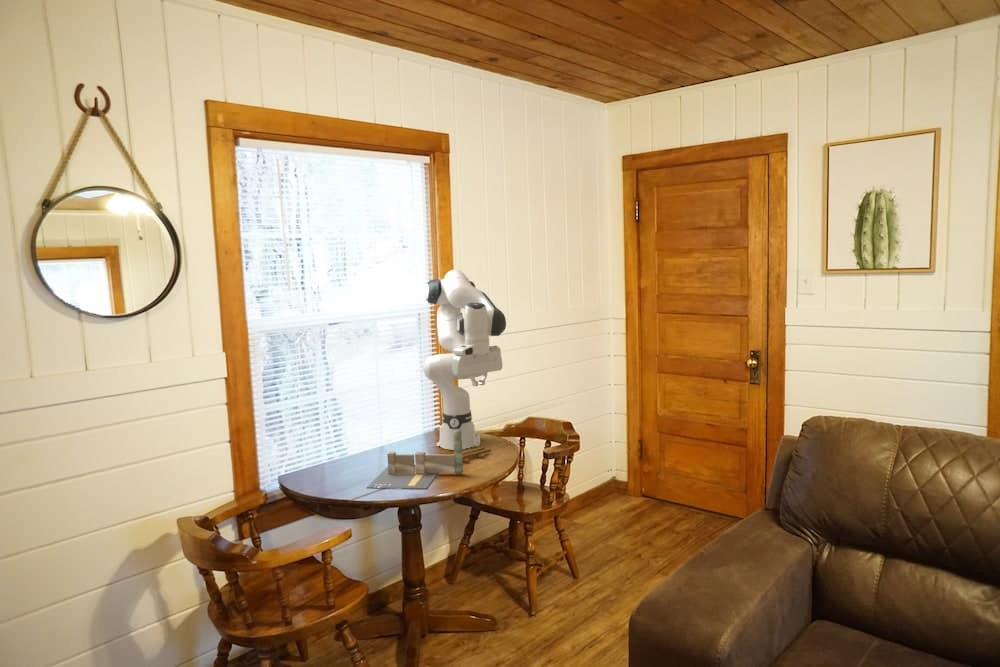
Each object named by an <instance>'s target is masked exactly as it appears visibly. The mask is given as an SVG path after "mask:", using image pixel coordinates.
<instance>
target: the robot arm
mask: <svg viewBox="0 0 1000 667" xmlns="http://www.w3.org/2000/svg"><path fill="white" fill-rule="evenodd" d="M424 287H425V288H424V296H425V300H426V301H427V303H428V304H432V305H440V306H439V307H438V309H437V312H436V330H437V338H438V339H437V340H438V344H439V346H441V347H442V349H444V350H446V351H449V352H450V353H437V354H433V355H430V356H428V357H426V358H425V360H424V362H423V373H424V375H425V376H426V378H427V380H428V379H429V380H430V381H431V382H433V384H434V385H436V387H437V388H438V390H439V391H440V394H441V397H442V408H443V413H442V424H441V425H440V426H439V440H438V441H437V442H436V443H435V444H436V445H435V446H436V447H439V446H440V448H442V449H444V450H452V451H454V442H453V431H454V430H461V433H462V450H466V448H468V449H471V448H470V447H472V448H474V447H473V446H476V447H478V446H477V445H480V443H481V435H480V434H478V433H476V429H475V425H474V422H473V417H472V411H471V404H470V403H471V402H470V398H471V397H470V394H469V392H468V390H466V389H464V388H462V387H459V385H458V386H457V385H456V384H455V381H457V380H469V379H470V380H471V384H472V385H471V386H472V387H479V386H485V385H486V379H487V377H488V373H491V372H497V371H498V372H499V371H502V370H503V366H504V365H503V359H502V352H501V350H502V349H501V348H500V347H499V346H498V345H493V346H492V345H490V337H489V336H492V337H499V336H500V335H502V334H503V332H504V331H505V330H506V327H507V321H506V320H507V319H506V316H505V314H504V313H503V312H502V311H501V310H500V309H499V308H498V307H497V306H496V305H495V304H494V303H493V301H492V300H491V299H490V298H489V296H488V295H487V294H486V293H485V292H483V291H482V290H480V289H478V288H476V285H475V283H474V282H473V281H471V280H470V279H469V278H468V276H467V275H466V274H465V273H464V272H463V271H461V270H459V269H451V270H449V271H448V272H446V274H445V275H444V278H441V279H439V278H436V279H435V278H434V279H431V280H429V281H427V282H426V285H425V286H424ZM462 309H463V310H464V311H461V310H462ZM478 377H481V378H480V379H479V380H476V378H478Z"/></svg>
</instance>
